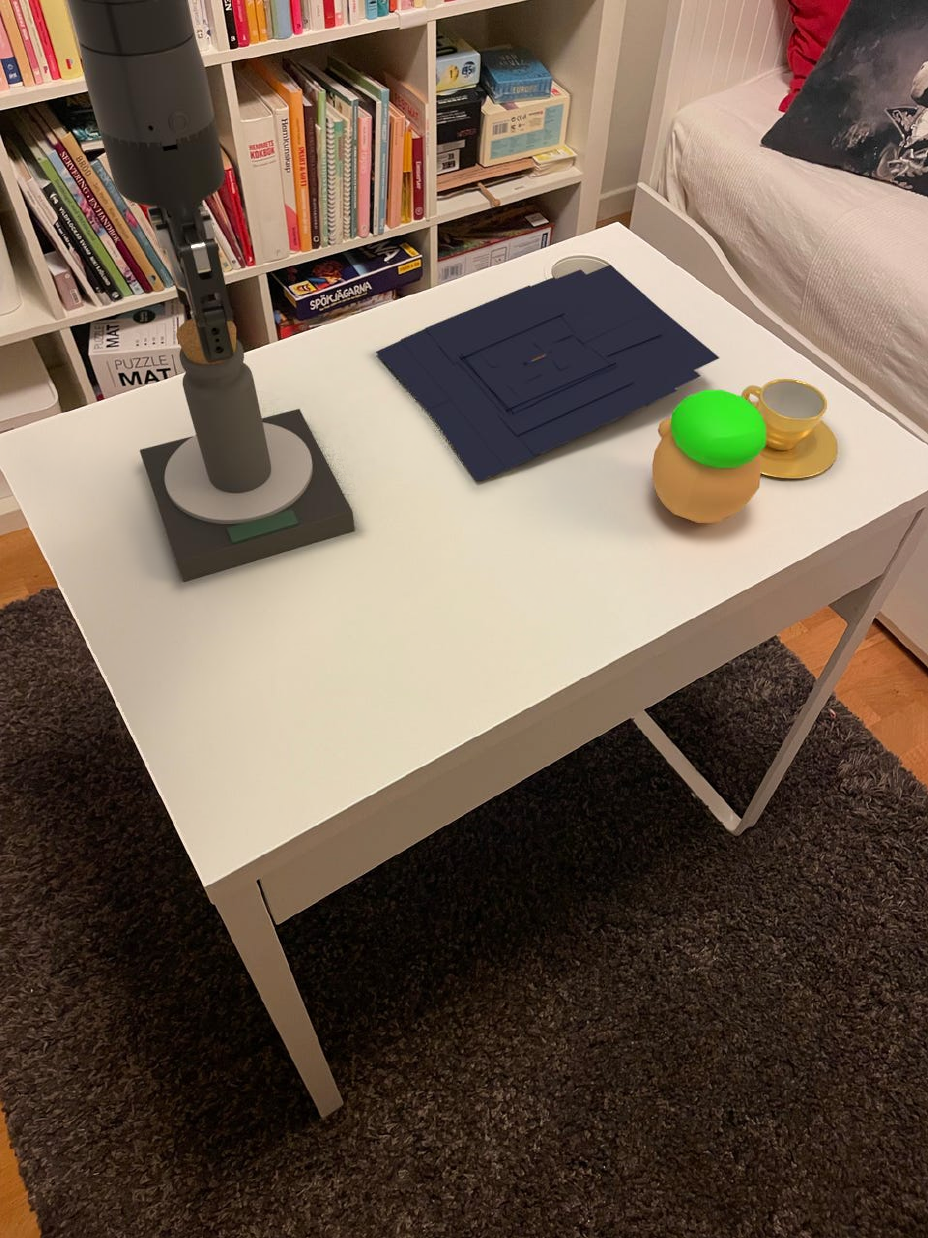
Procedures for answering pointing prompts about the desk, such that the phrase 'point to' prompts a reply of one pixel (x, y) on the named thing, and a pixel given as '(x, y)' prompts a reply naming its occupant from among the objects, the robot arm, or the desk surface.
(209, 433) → the bottle
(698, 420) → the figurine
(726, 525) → the desk surface
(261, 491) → the scale
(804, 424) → the cup
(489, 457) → the papers
